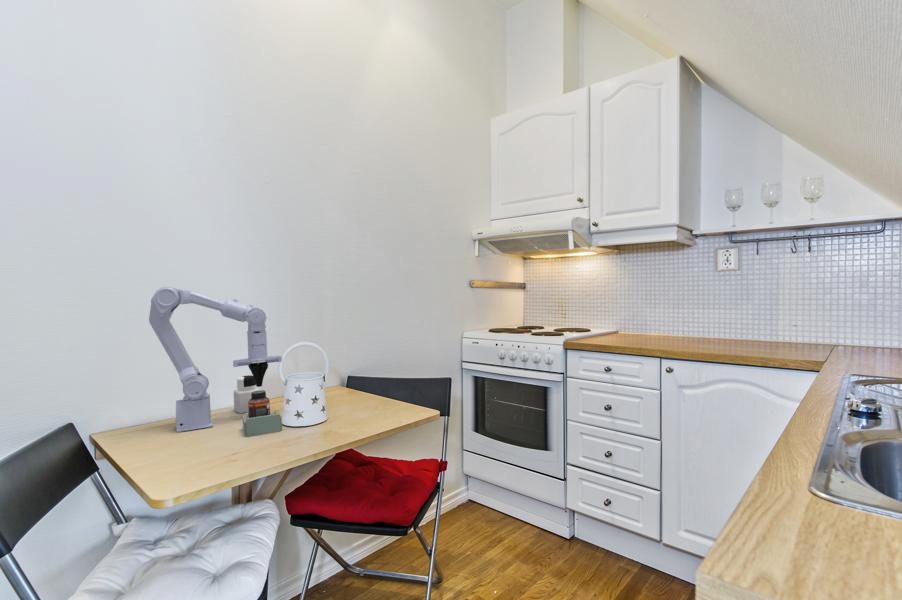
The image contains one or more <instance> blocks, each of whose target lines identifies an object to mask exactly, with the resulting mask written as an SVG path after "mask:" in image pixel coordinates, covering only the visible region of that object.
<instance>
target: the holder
mask: <svg viewBox="0 0 902 600" xmlns="http://www.w3.org/2000/svg"><path fill="white" fill-rule="evenodd" d="M282 418H283V417H282V415H281V414H280V412H279V410H274V414H270V415H267V416H260V417H253V418H249V417H247V415H246V414H245V415H242V431H243V434H244V437H249V438H250V437H254V436H261V435H267V434H273V433H278V432H281V431H282V430H283V427H282V426H283V423H282V421H283V420H282Z"/></svg>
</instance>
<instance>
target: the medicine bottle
mask: <svg viewBox="0 0 902 600" xmlns="http://www.w3.org/2000/svg"><path fill="white" fill-rule="evenodd" d="M260 390H261V389H258V387H257V386H256V382H255V379H254V376H253V374H252V375H250V374H249V375H242V376H239V377H237V378H236V389H234V390H233V410H234V411H235V412H237V413H238V414H241V415H242V414H245V413H249V412H248V401H249V400H250V399H251V398H252V397H251V392H254V391H260Z"/></svg>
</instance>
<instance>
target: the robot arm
mask: <svg viewBox="0 0 902 600" xmlns="http://www.w3.org/2000/svg"><path fill="white" fill-rule="evenodd" d="M189 304H190V305H191V304H195V305H198V306H202V307H205V308H209V309H213V310H216V311H219V312H220V314H221V316H222V317H225V318H228V319H232V320H234V321H238V322H241V323H244V322H247V329H248V330H247V332H246V333H247V336H246V337H247V354H248V355H247V356H248V358H241V359H233V360H232V364H233V365H232V366H233V367H234V368H238V367H244V366H248V368H249V370H250V372H251V374H252V376H254V379H255V382H256V388H260V387H263V383H264V382H263V381H264V377H265V374H266V372H267V369H268V368H269V364H270V363H281V362H282V358H283V357H282V355H270V356H269V355H268V346H267V345H268V340H267V339H268V338H267V337H268V336H267V330H266V328H267V325H266V321H267V318H268V317H267V316H266V313H265V311H264V310H262V309H261V308H259V307H254V304H245V303H242V302H239V300H238V299H236V298H233V299H230V298H229V299H227V300H224V301H223V300H220V299H216V298H213V297H210V296H208V295H204V294H201V293H199V292H196V291H193V290H185V289H181V288H175V287H171V286H163V287H160V288H158V289H157V290H156V292H155V293H154V294H153V296H152V297H151V299H150V311H149V315H148V322H149V325H150V326H151V328H152V330H153V331H154V333H155V335H156V336H157V338H158V341H159V342H160V344H161V345H162V347H163V348H164V350H165V352H166V355H168V357H169V360H170V361H171V363H172V365H173V366H174V368H175V370H176V372H177V373H178V377H179V380H180V382H181V384H182V393H183V395H184V396H183V398H182V399H179V400H176V401H175V419H174V420H175V427H176V432H177V433H180V432H187V431H193V430H200V429H207V428H212V427H213V419H212V414H211V411H212V410H211V395H210V393H208V391H207V390H208V388H209V385H210V384H209V383H210V382H209V379H208V377H206V376H205V375H204V374H202V373H201V372H200V370H199V369H198V367H197V366H196V365H195V363H194V362H193V360H192V358H191V356H190V354H189V353H188V351H187V349H186V347H185V346H184V344H183V342H182V341H181V338H180V337H179V335H178V333H177V332H176V330H175V328H174V326H173V324H172V322H171V321H170V320H171V317H172V315H173V313H174V311H175V310H176V309H177V308H178V307H179V305H189Z"/></svg>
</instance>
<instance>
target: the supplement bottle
mask: <svg viewBox="0 0 902 600" xmlns="http://www.w3.org/2000/svg"><path fill="white" fill-rule="evenodd" d="M259 390H260V391H254V392H251V397H252V398H251V399H250V400H249V401H248V412H247V413H248V418H253V417H260V416H267V415H271V405H270V404H271V403H270V402H271V401H270V398H269V397H267V394H266V393H267V392H266V390H262V389H259Z"/></svg>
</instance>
